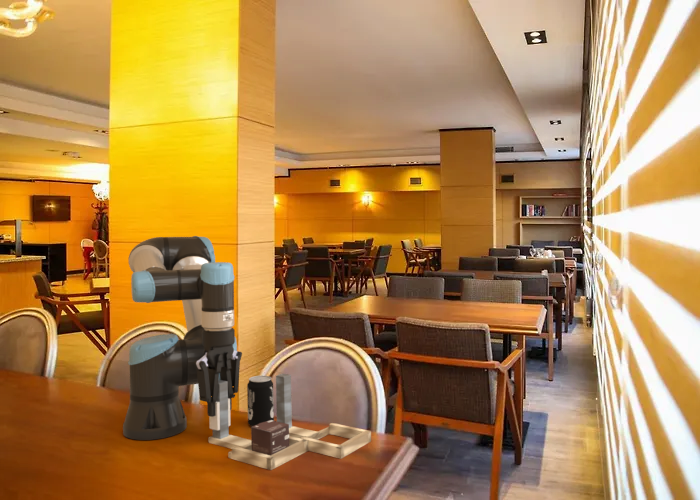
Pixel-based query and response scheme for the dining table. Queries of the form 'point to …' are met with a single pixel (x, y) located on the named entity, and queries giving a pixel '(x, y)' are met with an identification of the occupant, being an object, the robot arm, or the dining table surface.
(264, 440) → the box
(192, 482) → the dining table surface
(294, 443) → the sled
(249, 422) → the beverage can
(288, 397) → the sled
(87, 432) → the dining table surface
